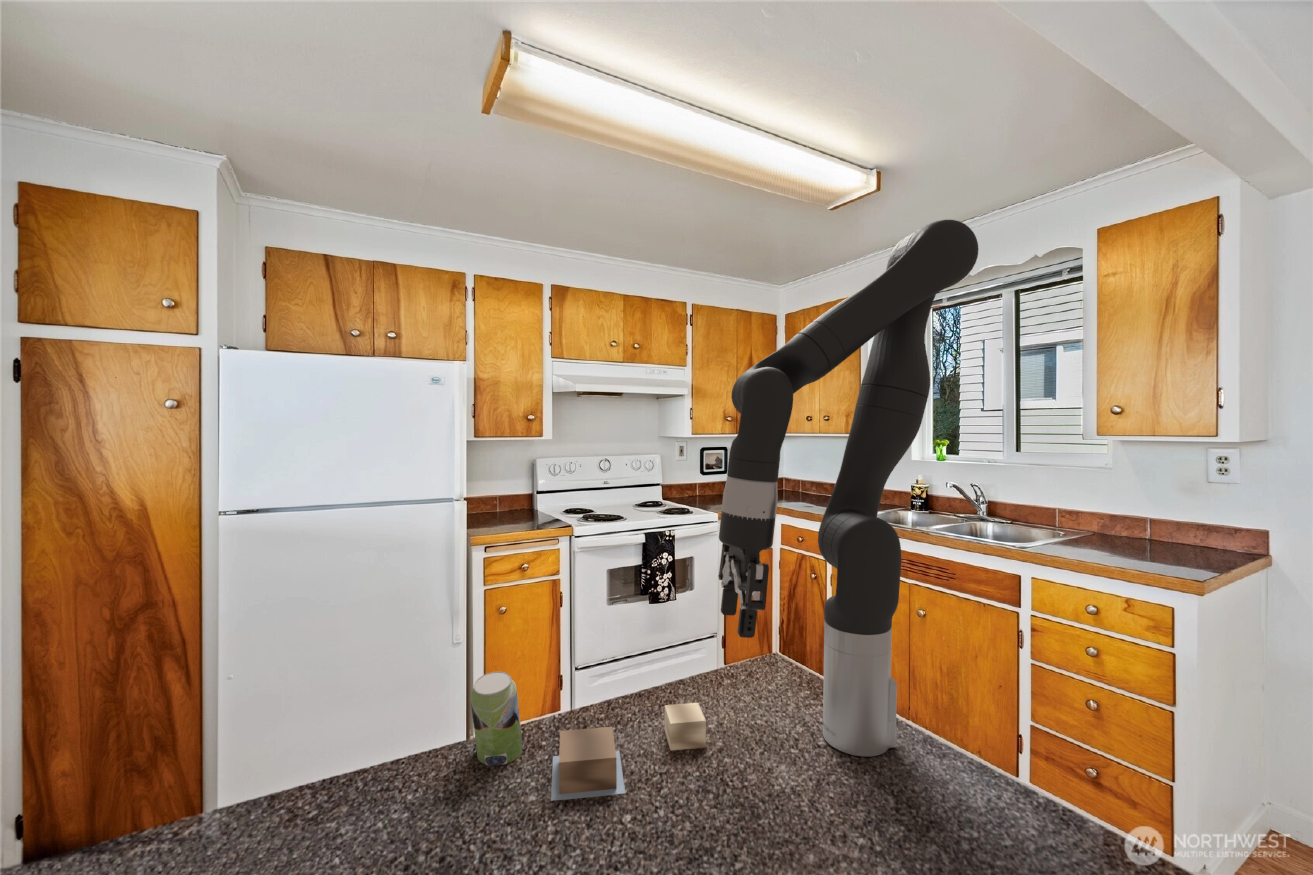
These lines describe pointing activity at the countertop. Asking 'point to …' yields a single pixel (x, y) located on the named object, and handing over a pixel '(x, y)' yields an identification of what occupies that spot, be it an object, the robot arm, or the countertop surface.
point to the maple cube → (685, 726)
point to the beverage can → (496, 719)
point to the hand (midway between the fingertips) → (736, 624)
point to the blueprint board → (619, 790)
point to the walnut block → (587, 760)
